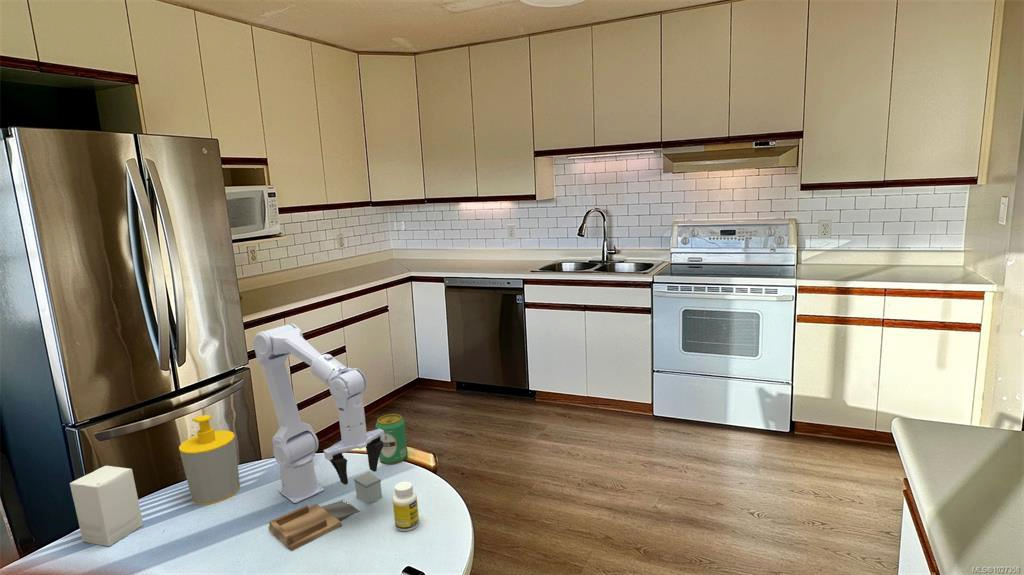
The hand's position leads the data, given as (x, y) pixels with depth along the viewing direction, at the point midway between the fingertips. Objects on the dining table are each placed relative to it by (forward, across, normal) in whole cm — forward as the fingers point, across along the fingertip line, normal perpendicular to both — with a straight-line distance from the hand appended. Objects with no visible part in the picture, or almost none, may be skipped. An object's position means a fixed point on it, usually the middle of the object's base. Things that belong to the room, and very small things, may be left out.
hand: (359, 476), depth 136 cm
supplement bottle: (+10, +4, -12) cm, 16 cm away
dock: (+10, -9, +6) cm, 15 cm away
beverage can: (+10, +21, +19) cm, 30 cm away
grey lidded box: (+10, +5, +6) cm, 13 cm away
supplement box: (+10, -43, +40) cm, 60 cm away
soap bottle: (+10, -20, +41) cm, 47 cm away
